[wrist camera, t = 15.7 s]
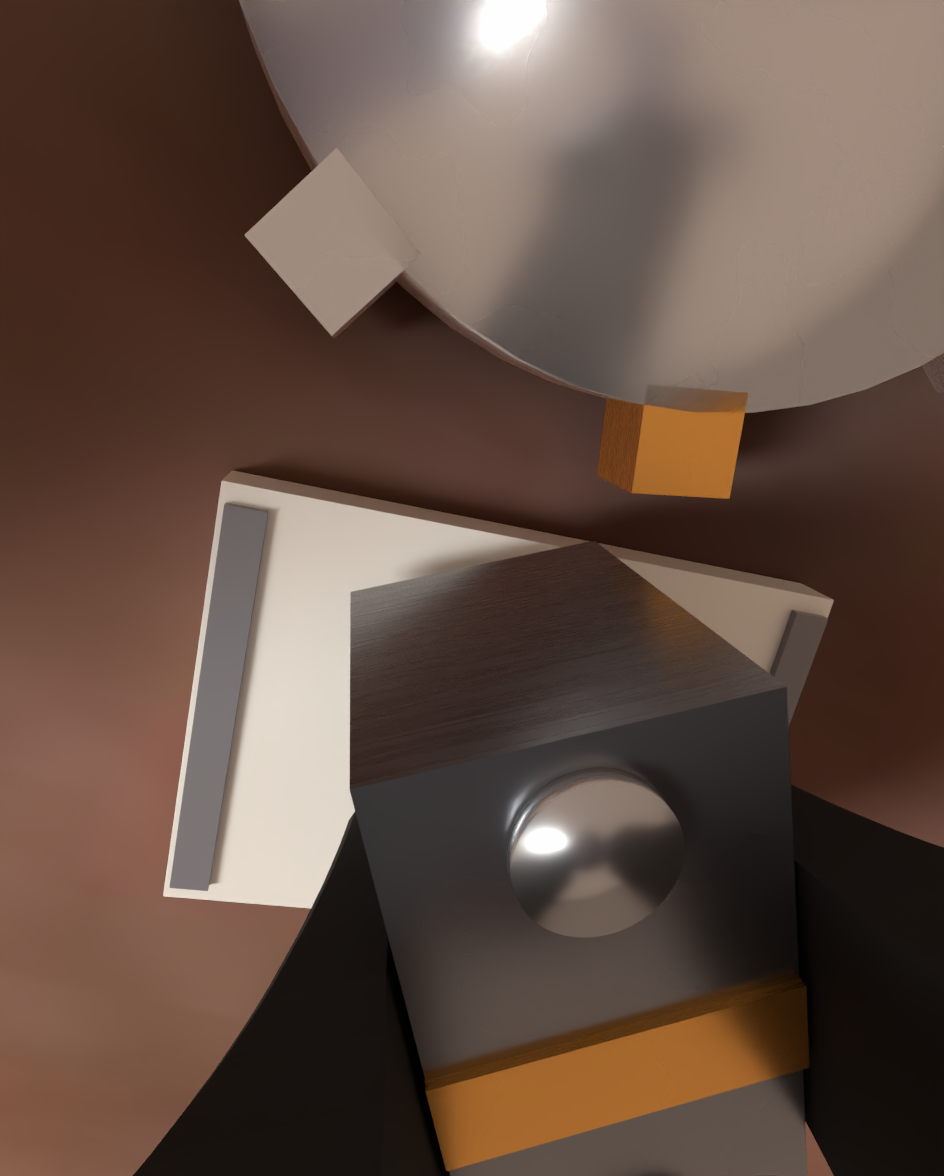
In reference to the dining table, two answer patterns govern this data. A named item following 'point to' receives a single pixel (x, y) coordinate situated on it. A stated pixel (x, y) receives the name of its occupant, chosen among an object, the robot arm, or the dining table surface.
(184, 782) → the guide plate
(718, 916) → the striped block with rivets
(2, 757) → the dining table surface
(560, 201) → the sprocket wheel
